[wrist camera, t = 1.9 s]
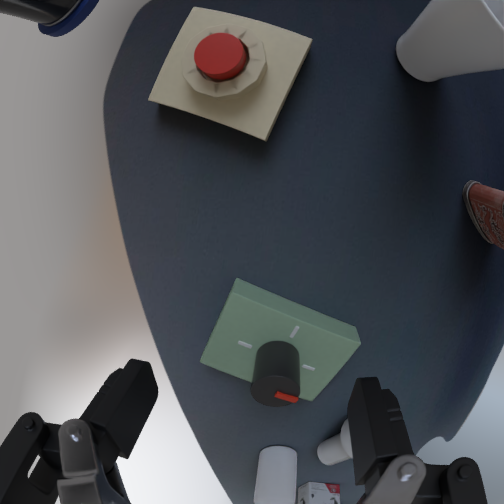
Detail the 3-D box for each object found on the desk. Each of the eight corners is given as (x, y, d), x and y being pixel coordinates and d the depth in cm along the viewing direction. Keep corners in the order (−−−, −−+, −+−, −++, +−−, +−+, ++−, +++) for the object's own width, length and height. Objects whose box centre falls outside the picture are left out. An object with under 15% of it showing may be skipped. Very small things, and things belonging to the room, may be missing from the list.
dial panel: (205, 345, 32) (198, 363, 29) (236, 277, 28) (231, 292, 25) (310, 384, 32) (311, 402, 29) (355, 326, 28) (361, 344, 26)
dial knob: (249, 363, 28) (242, 400, 23) (267, 334, 26) (262, 372, 21) (287, 376, 28) (285, 414, 23) (307, 349, 26) (309, 387, 22)
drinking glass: (441, 101, 19) (552, 84, 5) (381, 71, 19) (471, 9, 5) (448, 49, 17) (541, 9, 3) (391, 18, 17) (462, -57, 3)
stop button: (193, 73, 18) (185, 67, 17) (211, 35, 17) (205, 28, 15) (235, 85, 18) (230, 80, 17) (253, 47, 17) (251, 39, 15)
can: (302, 446, 38) (301, 506, 27) (290, 461, 40) (287, 515, 29) (264, 442, 38) (257, 503, 27) (256, 457, 40) (248, 511, 29)
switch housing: (158, 103, 23) (138, 97, 19) (200, 15, 19) (187, -2, 15) (266, 141, 23) (263, 139, 19) (310, 47, 19) (314, 31, 16)
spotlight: (398, 415, 32) (394, 461, 25) (351, 440, 38) (341, 479, 31) (360, 397, 33) (351, 446, 26) (314, 425, 39) (301, 465, 32)
